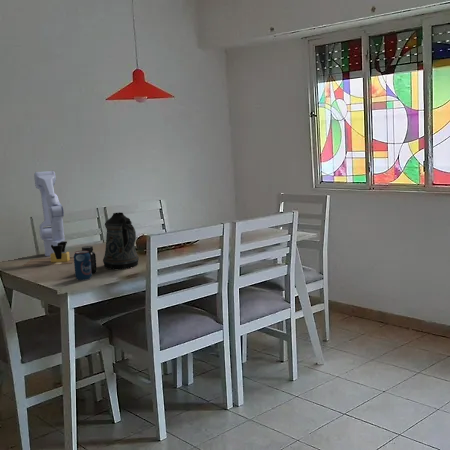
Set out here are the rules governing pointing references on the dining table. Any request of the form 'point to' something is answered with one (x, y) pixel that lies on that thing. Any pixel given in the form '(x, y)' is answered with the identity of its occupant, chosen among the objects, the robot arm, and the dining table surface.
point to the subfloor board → (46, 262)
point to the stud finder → (64, 257)
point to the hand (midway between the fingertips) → (60, 257)
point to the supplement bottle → (91, 258)
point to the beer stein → (120, 243)
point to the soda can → (82, 265)
